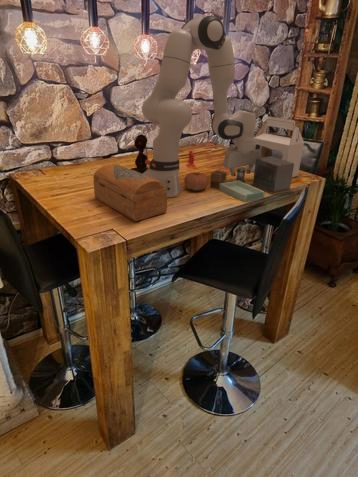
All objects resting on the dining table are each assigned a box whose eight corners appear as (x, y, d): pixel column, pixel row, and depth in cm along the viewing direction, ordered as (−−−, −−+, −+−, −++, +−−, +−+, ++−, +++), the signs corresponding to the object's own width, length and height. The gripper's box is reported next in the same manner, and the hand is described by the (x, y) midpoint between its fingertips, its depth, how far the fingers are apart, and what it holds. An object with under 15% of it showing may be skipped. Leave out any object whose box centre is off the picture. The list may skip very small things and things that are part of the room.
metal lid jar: (239, 184, 170) (240, 170, 166) (233, 181, 173) (235, 167, 170) (245, 183, 172) (247, 169, 168) (240, 180, 175) (241, 166, 172)
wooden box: (169, 212, 137) (170, 177, 131) (133, 222, 128) (132, 185, 121) (127, 191, 157) (126, 160, 151) (94, 198, 148) (91, 166, 142)
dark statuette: (155, 181, 170) (155, 139, 161) (125, 181, 170) (123, 138, 161) (157, 173, 183) (157, 133, 174) (128, 172, 183) (127, 132, 174)
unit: (273, 195, 157) (277, 166, 151) (249, 184, 169) (252, 158, 164) (292, 191, 163) (297, 163, 157) (268, 181, 175) (272, 155, 169)
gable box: (249, 170, 192) (255, 116, 179) (263, 166, 200) (271, 114, 187) (284, 180, 177) (293, 122, 165) (298, 175, 185) (308, 120, 172)
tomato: (209, 187, 165) (210, 170, 161) (204, 194, 156) (205, 177, 152) (187, 184, 167) (188, 168, 164) (181, 191, 158) (181, 174, 155)
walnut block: (218, 189, 162) (219, 174, 159) (210, 187, 165) (211, 172, 162) (225, 187, 165) (226, 172, 162) (216, 184, 168) (218, 170, 165)
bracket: (182, 163, 201) (183, 149, 198) (190, 163, 202) (191, 149, 199) (187, 169, 191) (188, 154, 187) (195, 169, 192) (196, 154, 188)
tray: (244, 202, 148) (245, 195, 147) (219, 189, 162) (219, 183, 161) (264, 198, 153) (264, 191, 152) (237, 186, 167) (238, 180, 166)
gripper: (230, 149, 158) (227, 179, 164) (264, 145, 167) (260, 173, 173) (221, 146, 162) (219, 176, 169) (255, 142, 172) (252, 170, 178)
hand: (240, 174), depth 171 cm, fingers open, 8 cm apart
